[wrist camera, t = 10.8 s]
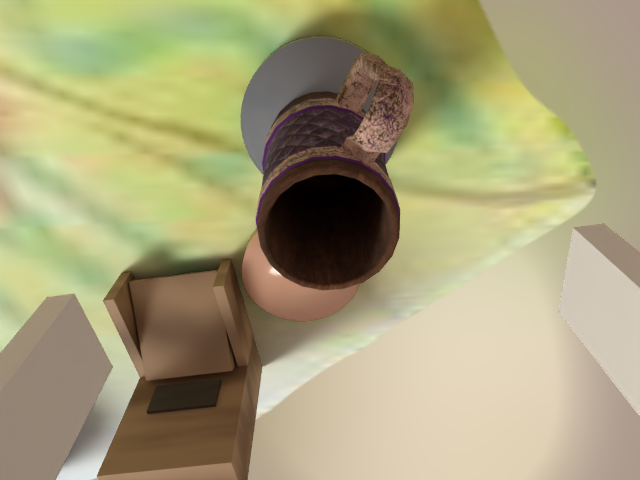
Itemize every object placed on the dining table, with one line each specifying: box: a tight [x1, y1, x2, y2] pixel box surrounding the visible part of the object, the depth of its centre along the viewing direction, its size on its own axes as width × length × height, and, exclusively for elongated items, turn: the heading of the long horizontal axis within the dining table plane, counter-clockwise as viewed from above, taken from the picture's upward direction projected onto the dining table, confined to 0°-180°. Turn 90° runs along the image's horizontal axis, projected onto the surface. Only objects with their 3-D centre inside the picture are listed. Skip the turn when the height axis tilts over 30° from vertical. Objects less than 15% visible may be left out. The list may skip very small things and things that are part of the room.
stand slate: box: [241, 35, 397, 175], centre depth 28 cm, size 10×10×2 cm
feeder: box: [97, 259, 262, 480], centre depth 33 cm, size 12×9×12 cm
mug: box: [256, 53, 414, 290], centre depth 22 cm, size 10×7×12 cm
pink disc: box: [242, 229, 359, 321], centre depth 34 cm, size 9×9×2 cm
